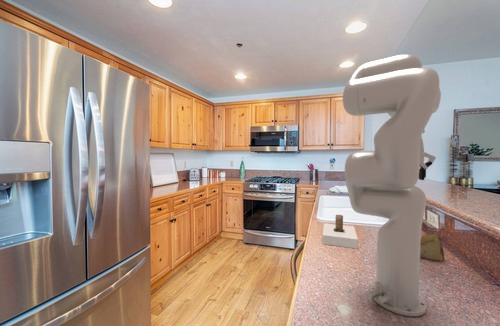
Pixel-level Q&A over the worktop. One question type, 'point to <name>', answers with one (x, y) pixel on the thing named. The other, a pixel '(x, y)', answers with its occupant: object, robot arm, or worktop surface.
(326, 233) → the hole block
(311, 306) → the worktop surface
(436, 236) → the rock
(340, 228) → the peg
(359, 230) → the worktop surface
